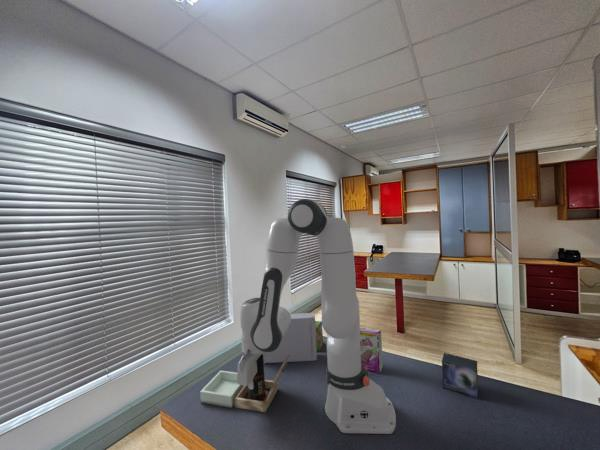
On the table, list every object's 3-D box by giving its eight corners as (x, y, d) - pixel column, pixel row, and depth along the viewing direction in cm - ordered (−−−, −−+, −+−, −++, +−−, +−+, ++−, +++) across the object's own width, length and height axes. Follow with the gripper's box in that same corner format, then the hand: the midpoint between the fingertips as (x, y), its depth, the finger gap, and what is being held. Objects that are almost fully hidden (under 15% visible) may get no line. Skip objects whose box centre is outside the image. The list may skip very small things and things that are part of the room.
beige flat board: (277, 380, 93) (280, 382, 93) (265, 402, 82) (268, 405, 82) (288, 354, 92) (291, 356, 91) (277, 373, 81) (280, 375, 80)
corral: (277, 389, 93) (277, 381, 93) (265, 412, 82) (265, 403, 82) (250, 385, 96) (249, 377, 96) (234, 407, 85) (234, 398, 85)
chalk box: (319, 352, 118) (317, 321, 117) (301, 350, 121) (299, 320, 120) (323, 342, 126) (322, 314, 126) (306, 341, 129) (305, 313, 129)
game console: (317, 361, 110) (315, 317, 110) (257, 364, 111) (254, 320, 110) (316, 354, 116) (314, 312, 116) (259, 356, 117) (257, 315, 116)
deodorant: (257, 406, 85) (255, 363, 85) (245, 400, 88) (243, 359, 88) (268, 395, 90) (266, 355, 90) (256, 390, 93) (254, 351, 93)
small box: (442, 388, 89) (440, 360, 89) (444, 378, 94) (443, 351, 94) (478, 400, 83) (476, 369, 82) (478, 389, 88) (477, 360, 88)
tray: (248, 384, 97) (248, 374, 97) (231, 407, 85) (231, 396, 85) (221, 380, 101) (220, 370, 100) (200, 402, 88) (200, 391, 88)
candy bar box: (353, 367, 105) (351, 329, 104) (357, 361, 109) (355, 324, 109) (380, 374, 99) (378, 334, 98) (383, 368, 103) (381, 329, 103)
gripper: (248, 360, 78) (251, 403, 78) (272, 331, 98) (274, 366, 98) (231, 358, 80) (233, 400, 80) (258, 330, 99) (260, 364, 100)
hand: (256, 381), depth 89 cm, fingers closed on deodorant, 6 cm apart
